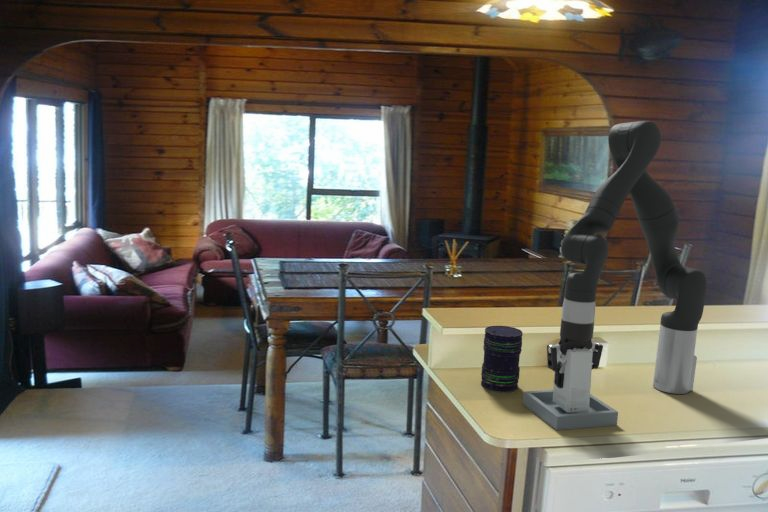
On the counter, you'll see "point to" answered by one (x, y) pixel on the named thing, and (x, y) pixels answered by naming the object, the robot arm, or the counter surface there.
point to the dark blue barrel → (501, 358)
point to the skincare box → (575, 381)
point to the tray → (562, 420)
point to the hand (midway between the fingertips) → (571, 386)
